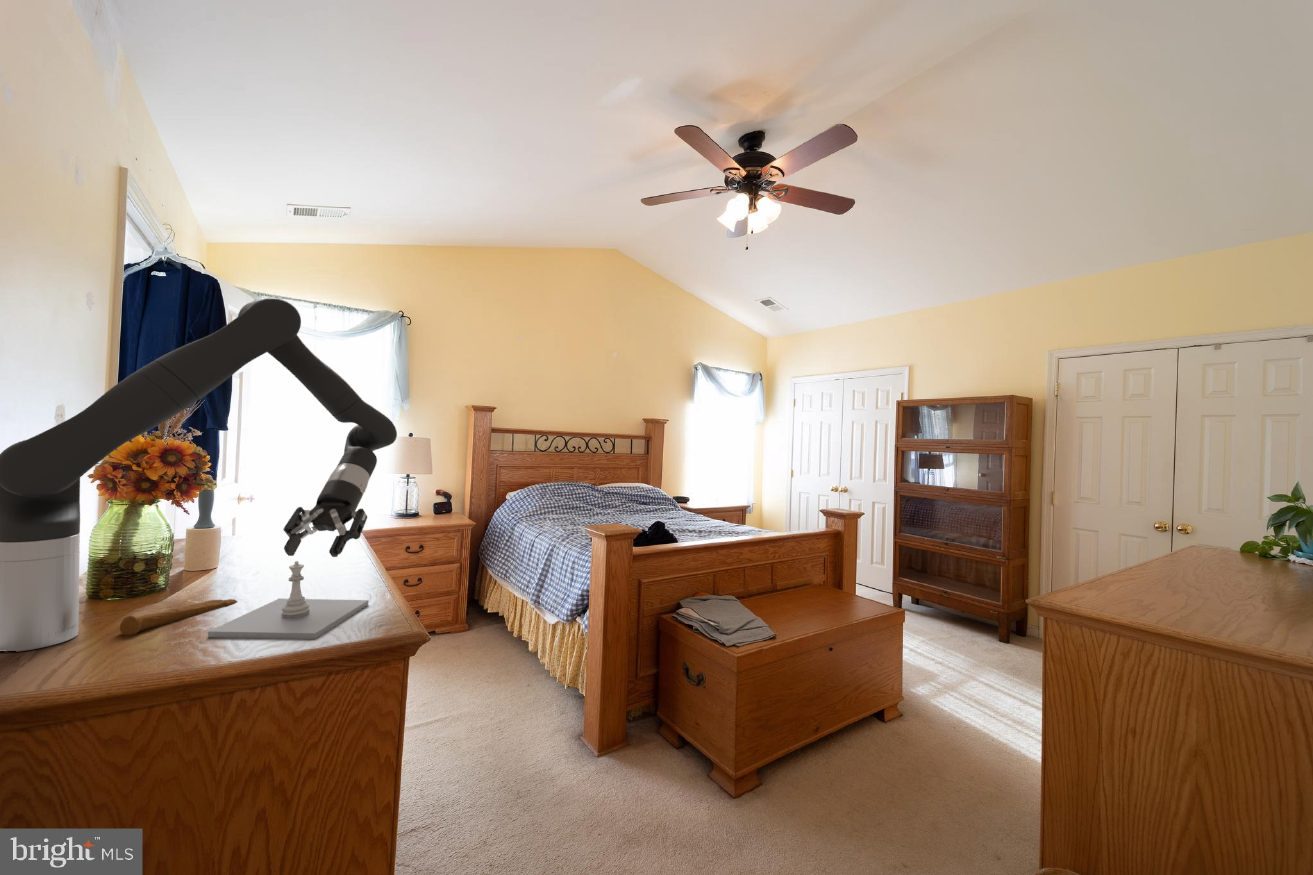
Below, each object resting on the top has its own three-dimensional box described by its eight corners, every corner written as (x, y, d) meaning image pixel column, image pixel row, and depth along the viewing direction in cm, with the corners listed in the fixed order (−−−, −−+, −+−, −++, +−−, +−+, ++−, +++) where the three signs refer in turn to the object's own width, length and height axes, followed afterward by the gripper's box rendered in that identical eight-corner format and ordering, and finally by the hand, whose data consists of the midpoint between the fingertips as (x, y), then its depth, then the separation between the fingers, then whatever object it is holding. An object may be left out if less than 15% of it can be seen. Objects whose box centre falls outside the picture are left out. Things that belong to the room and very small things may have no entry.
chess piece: (275, 616, 100) (276, 562, 99) (298, 608, 104) (299, 557, 104) (292, 619, 98) (293, 565, 98) (315, 612, 102) (316, 559, 102)
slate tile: (207, 637, 92) (207, 631, 92) (279, 603, 110) (279, 598, 110) (314, 639, 92) (315, 633, 92) (368, 604, 110) (368, 600, 110)
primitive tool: (216, 602, 111) (216, 585, 111) (240, 603, 110) (241, 586, 110) (114, 637, 92) (114, 617, 91) (143, 639, 91) (144, 619, 91)
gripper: (303, 477, 113) (264, 542, 102) (371, 479, 114) (340, 544, 102) (318, 499, 119) (282, 563, 107) (383, 500, 119) (354, 565, 108)
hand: (310, 554), depth 105 cm, fingers open, 8 cm apart
